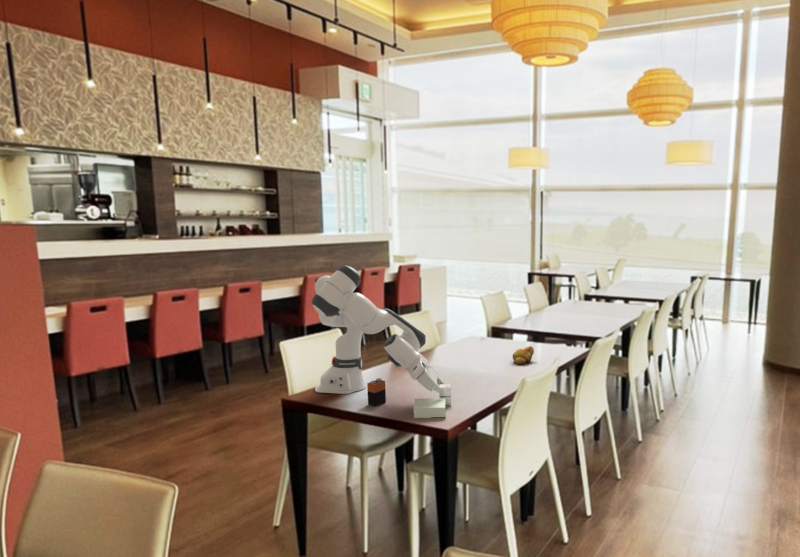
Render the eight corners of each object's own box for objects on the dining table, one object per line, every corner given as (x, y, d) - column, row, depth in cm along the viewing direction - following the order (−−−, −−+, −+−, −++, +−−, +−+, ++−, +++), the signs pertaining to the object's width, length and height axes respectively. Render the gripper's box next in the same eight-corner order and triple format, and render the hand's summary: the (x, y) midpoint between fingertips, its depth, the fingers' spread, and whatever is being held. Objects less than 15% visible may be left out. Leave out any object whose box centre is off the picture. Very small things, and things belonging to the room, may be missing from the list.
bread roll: (525, 366, 278) (525, 350, 278) (507, 363, 284) (507, 348, 283) (535, 360, 289) (535, 345, 288) (518, 358, 294) (518, 343, 294)
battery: (386, 402, 228) (385, 378, 227) (375, 406, 223) (374, 382, 222) (378, 400, 231) (377, 377, 230) (367, 404, 226) (366, 380, 225)
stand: (413, 418, 208) (413, 407, 208) (415, 408, 219) (414, 398, 219) (445, 417, 208) (445, 407, 207) (445, 408, 218) (445, 398, 218)
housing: (439, 405, 222) (439, 387, 221) (439, 402, 226) (439, 384, 226) (451, 405, 221) (450, 387, 221) (450, 402, 226) (450, 384, 225)
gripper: (414, 365, 233) (438, 387, 233) (411, 378, 213) (437, 403, 213) (424, 354, 232) (448, 377, 233) (422, 367, 212) (448, 391, 212)
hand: (443, 389), depth 223 cm, fingers open, 8 cm apart
